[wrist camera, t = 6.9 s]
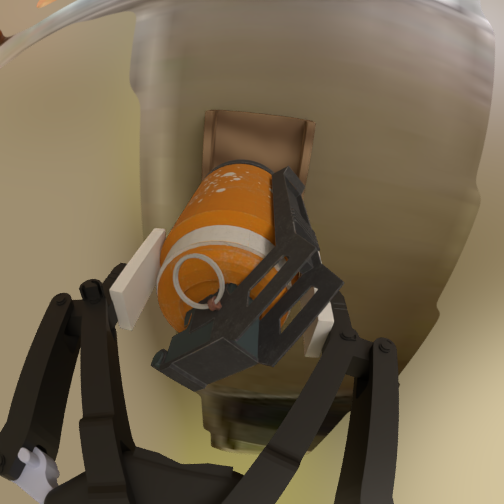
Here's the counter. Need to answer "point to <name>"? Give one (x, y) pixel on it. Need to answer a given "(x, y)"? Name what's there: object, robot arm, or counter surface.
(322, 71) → the counter surface
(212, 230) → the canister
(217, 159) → the cradle
